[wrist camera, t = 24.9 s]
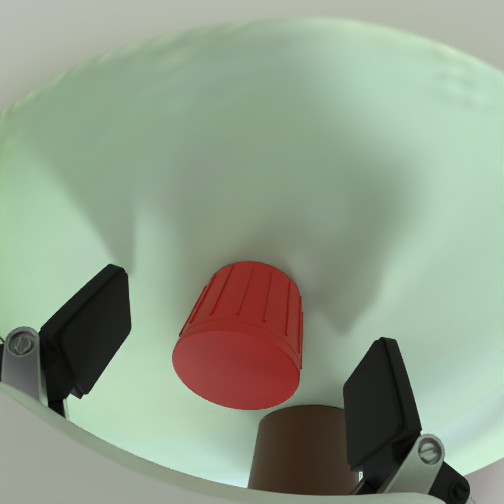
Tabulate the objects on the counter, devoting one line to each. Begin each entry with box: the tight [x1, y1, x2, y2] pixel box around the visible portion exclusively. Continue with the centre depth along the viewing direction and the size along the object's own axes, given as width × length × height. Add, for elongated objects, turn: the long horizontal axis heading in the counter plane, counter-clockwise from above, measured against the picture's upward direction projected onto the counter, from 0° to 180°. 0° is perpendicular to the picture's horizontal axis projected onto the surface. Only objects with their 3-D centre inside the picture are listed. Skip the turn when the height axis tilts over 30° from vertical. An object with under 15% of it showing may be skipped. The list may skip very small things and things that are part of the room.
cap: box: [172, 262, 303, 410], centre depth 9 cm, size 4×4×4 cm
